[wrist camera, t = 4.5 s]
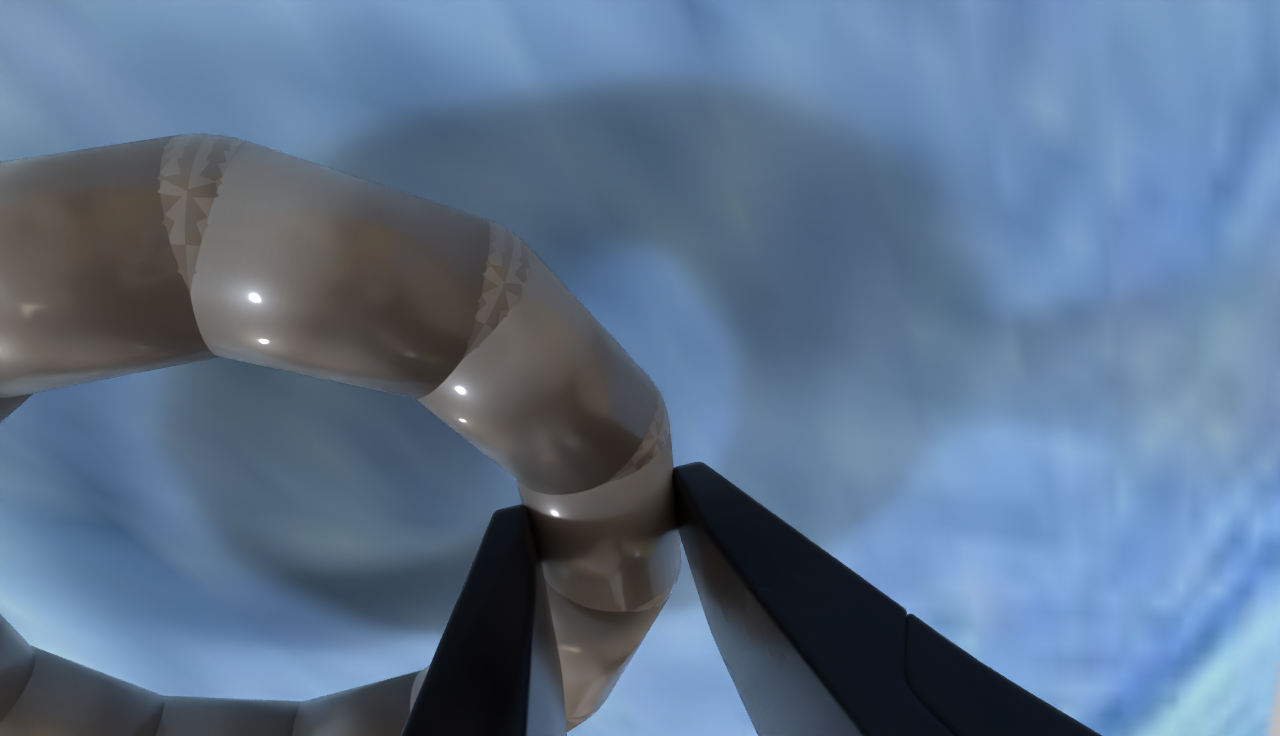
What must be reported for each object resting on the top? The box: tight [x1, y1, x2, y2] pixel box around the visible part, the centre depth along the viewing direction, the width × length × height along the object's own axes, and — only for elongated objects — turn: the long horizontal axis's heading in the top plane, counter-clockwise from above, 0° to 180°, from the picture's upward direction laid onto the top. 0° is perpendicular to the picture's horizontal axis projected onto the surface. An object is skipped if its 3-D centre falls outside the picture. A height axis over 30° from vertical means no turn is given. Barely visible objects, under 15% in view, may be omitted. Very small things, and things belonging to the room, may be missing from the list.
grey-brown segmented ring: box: [0, 134, 681, 736], centre depth 9 cm, size 10×10×2 cm
